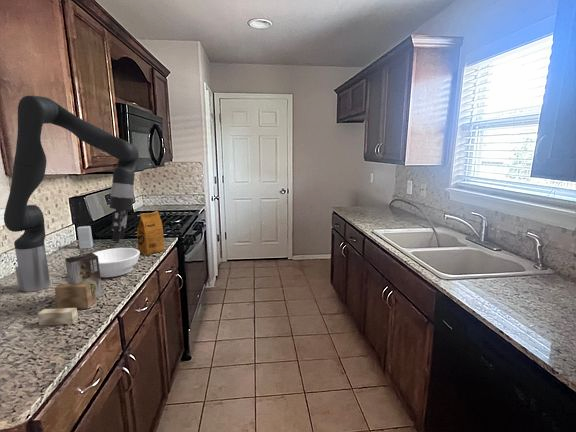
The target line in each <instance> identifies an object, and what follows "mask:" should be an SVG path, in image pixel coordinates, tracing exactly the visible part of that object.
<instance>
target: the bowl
mask: <svg viewBox="0 0 576 432" xmlns="http://www.w3.org/2000/svg"><path fill="white" fill-rule="evenodd" d="M92 253H93V254H95V255H97V256H98V261H99V269H100V276H101V278H113V277H119V276H123V275H126V274H129V273H130V272H132V271H133V269H134V267H135V265H136V264H137V263H138V262H139V258H140V254H141V253H140V251H139V250H138V248H133V247H115V248H109V249H108V248H107V249H103V250H99V251H94V252H92Z"/></svg>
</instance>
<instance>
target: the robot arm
mask: <svg viewBox="0 0 576 432" xmlns="http://www.w3.org/2000/svg"><path fill="white" fill-rule="evenodd" d="M19 100H20V101H19V102H18V106H17V137H16V143H15V144H16V146H15V147H16V148H15V154H14V160H13V167H12V177H11V183H10V188H9V195H8V198H7V201H6V205H5V209H4V213H3V221H4V222H3V223H4V225H5V227H6V229H7V230H8V231H10V232H13V233H15V232H16V233H17V232H23V233H22V234H21V236H20V237H18V238H17V239H16V240H14V241H13V242H14V243H13V244H14V252H15V257H16V263H17V266H16V267H15V274H16V280H17V285H18V291H22V292H26V293H28V292H29V293H30V292H36V291H37V292H38V291H42V290H45V289H46V288H48V287H50V286H51V279H50V272H49V265H48V259H47V251H46V246H45V239H46V229H45V228H46V227H45V226H46V225H45V218H44V213H43V211H42V210H41V208H40V207H39V206H37V205H35V204H28V203H29V200H30V197H31V196H32V194H33V193H34V192H35V191H36V190H37V188H38V187H39V186H40V185H41V184H42V181H43V180H44V179H45V176H46V170H47V169H46V168H47V160H48V159H47V156H46V153H45V150H44V148H43V145H42V142H41V136H42V129H43V127H44V126H43V125H44V124H45V125H46V124H47V125H48V124H51V125H55V126H57V127H61V128H63V129H65V130H67V131H69V132H71V134H73V135H74V136H75V137H77V138H78V139H79V140H80V141H82V142H83V143H85V144H87V145H89V146H91V147H94V148H95V149H97V150H100V151H103V152H104V153H106V154H108V155H110V156H112V157H113V158H114V159H115V158H116V159H117V160H118V162H117V167H116V168H114V169H113V171H112V184H111V189H110V199H109V208H110V209H113V210H115V211H114V212H112V217H111V218H112V221H111V227H110V228H111V230H112V237H111V238H112V242H117V243H118V242H120V240H123V239H124V238H125V231H126V230H125V229H126V228H127V225H128V224H127V223H128V222H127V221H128V214H129V213H128V211H131V210H133V206H134V205H133V204H134V196H135V195H134V193H135V189H134V186H135V174H136V173H135V172H136V170H137V167H138V162H139V157H140V155H139V149H138V148H137V147H136V145H134V144H132V143H130V142H129V141H127V140H125V139H122V138H120V137H117V136H116V135H112V133H110V132H109V131H106V130H104V129H102V128H100V127H98V126H96V125H94V124H92V123H90V122H88V121H86V120H85V119H82V118H81V117H79V116H77V115H75V114H73V113H72V112H70V111H69V110H67V109H66V108H65V107H63V106H62V105H60V104H59V103H57V102H55V100H52V99H51V98H49V97H45V96H39V95H25V96H22V98H20V99H19Z"/></svg>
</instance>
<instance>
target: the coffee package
mask: <svg viewBox="0 0 576 432" xmlns="http://www.w3.org/2000/svg"><path fill="white" fill-rule="evenodd" d="M139 217H140V218H139V223H138V226H137V229H136V237H137V250H139V251H140V254H142V255H144V256H148V255H152V254H157V253H158V254H159V253H160V252H163V251H165V239H164V227H163V221H162V218H161V216H160V214H159V211H158V210H155V211H153V212H151V213H149V212H147V213H139Z"/></svg>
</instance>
